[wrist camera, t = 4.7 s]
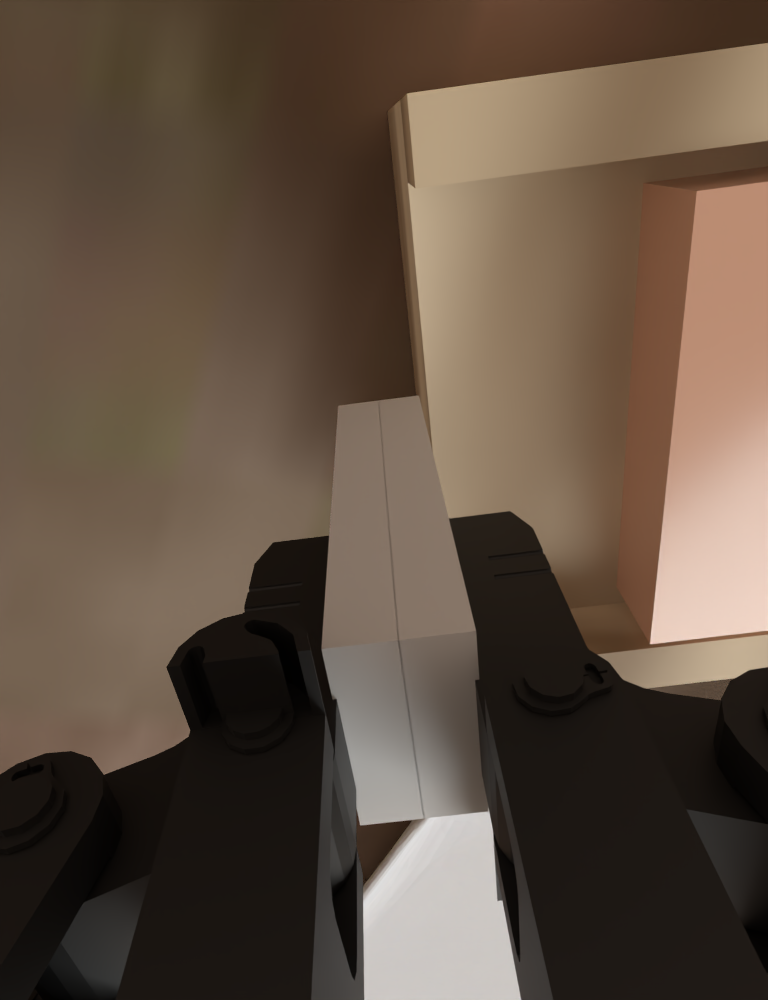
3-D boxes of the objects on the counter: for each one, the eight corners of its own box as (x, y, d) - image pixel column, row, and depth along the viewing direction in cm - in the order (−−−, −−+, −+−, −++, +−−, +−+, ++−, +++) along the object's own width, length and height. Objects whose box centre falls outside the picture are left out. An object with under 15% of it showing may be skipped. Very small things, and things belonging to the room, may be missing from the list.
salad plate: (433, 723, 25) (443, 804, 22) (824, 864, 30) (875, 944, 27) (227, 984, 34) (214, 1067, 31) (560, 1057, 39) (576, 1134, 36)
